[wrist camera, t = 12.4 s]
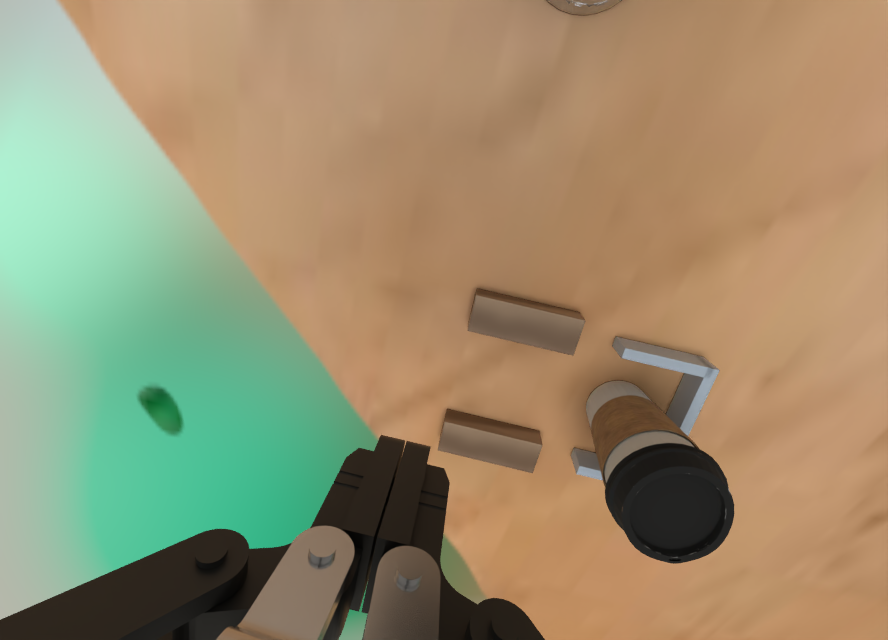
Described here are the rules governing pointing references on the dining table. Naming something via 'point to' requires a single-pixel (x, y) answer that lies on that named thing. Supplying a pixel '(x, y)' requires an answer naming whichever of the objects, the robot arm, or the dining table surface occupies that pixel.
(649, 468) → the coffee cup
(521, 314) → the clamp blocks
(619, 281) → the dining table surface
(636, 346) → the corral
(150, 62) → the dining table surface
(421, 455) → the robot arm
